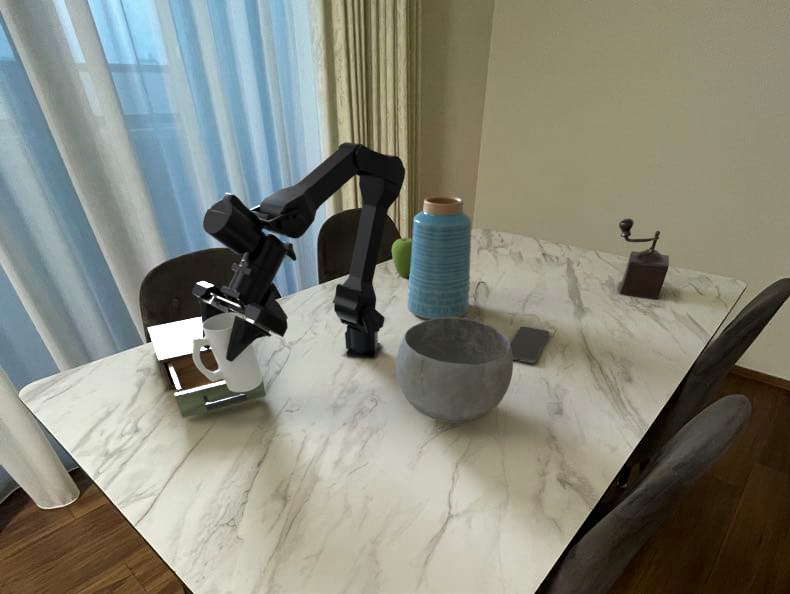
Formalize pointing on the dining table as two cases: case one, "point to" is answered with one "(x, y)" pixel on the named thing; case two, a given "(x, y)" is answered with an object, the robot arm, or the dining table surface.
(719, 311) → the dining table surface
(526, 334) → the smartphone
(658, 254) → the manual coffee grinder
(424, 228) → the vase
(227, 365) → the mug
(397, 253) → the green rounded piece
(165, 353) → the cabinet
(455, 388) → the bowl
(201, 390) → the drawer
